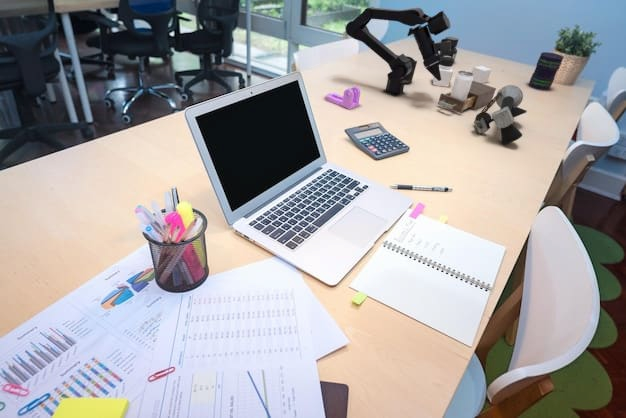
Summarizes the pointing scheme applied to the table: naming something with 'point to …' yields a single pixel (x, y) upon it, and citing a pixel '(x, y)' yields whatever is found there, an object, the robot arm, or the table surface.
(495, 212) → the table surface
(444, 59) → the medicine bottle
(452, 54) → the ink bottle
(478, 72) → the white cube
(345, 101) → the bracket
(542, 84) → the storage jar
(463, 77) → the can
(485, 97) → the organizer
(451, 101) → the drawer
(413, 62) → the pen holder
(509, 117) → the abstract shape sculpture
